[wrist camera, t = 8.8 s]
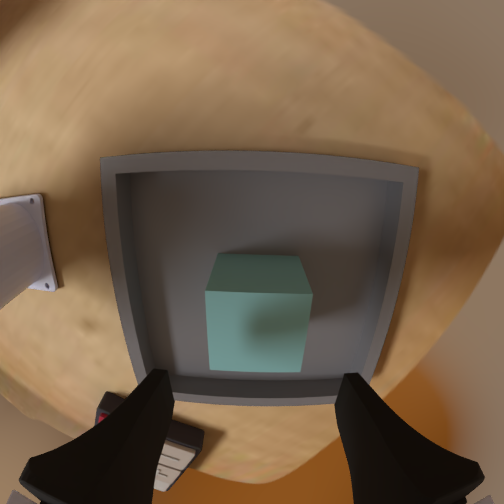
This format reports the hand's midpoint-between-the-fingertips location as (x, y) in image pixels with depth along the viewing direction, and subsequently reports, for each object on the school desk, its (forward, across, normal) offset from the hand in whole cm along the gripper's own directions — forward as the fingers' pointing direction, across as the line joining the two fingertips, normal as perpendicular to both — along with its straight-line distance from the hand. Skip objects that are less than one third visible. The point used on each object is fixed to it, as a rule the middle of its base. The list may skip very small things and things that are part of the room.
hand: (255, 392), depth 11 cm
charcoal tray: (+9, 0, 0) cm, 9 cm away
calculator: (+10, +13, +22) cm, 27 cm away
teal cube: (+9, 0, 0) cm, 9 cm away
